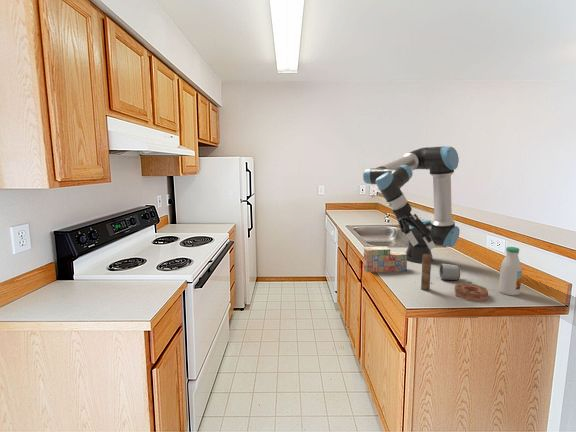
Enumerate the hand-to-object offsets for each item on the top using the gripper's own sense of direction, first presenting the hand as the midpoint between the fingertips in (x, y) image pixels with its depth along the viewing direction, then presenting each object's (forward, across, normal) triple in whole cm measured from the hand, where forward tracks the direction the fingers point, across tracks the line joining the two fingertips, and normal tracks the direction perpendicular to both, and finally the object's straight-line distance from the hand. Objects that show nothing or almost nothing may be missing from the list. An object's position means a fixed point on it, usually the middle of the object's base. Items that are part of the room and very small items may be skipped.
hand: (423, 246), depth 151 cm
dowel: (+18, -2, -9) cm, 20 cm away
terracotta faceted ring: (+26, +8, +3) cm, 28 cm away
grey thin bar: (+29, 0, +10) cm, 31 cm away
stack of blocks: (+12, -32, -12) cm, 36 cm away
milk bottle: (+36, +9, +18) cm, 41 cm away
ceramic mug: (+26, -13, +8) cm, 30 cm away
